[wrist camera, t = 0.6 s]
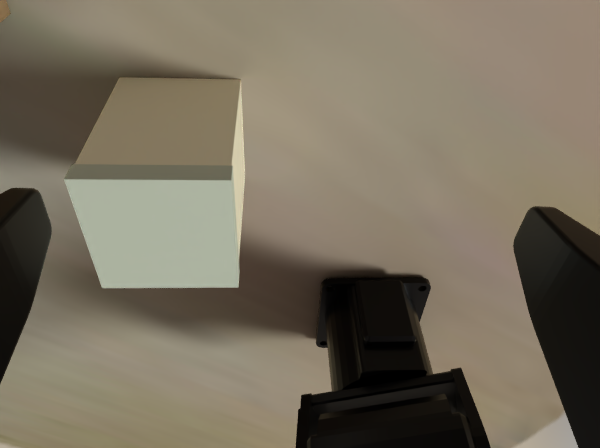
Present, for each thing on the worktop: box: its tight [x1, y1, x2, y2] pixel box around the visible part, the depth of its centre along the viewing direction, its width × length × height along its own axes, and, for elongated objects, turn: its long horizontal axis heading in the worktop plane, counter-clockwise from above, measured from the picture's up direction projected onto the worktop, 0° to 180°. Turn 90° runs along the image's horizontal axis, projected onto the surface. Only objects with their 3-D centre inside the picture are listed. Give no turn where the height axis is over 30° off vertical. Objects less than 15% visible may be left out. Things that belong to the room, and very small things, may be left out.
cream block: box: [64, 77, 245, 288], centre depth 20 cm, size 5×5×7 cm
